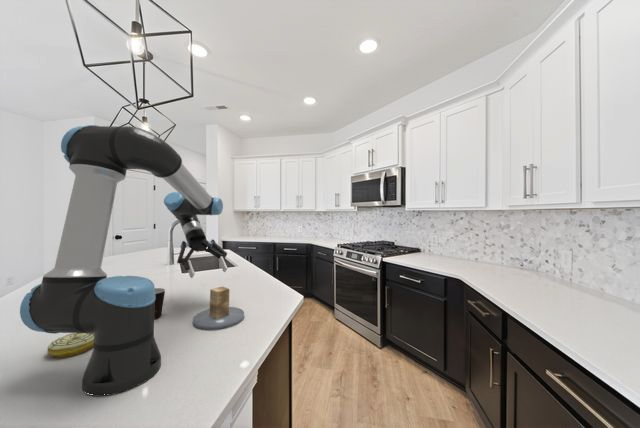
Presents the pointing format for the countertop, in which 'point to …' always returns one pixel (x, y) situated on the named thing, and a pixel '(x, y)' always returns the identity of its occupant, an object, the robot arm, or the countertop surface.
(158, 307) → the coffee mug
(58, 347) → the decorated donut
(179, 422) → the countertop surface
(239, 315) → the dish
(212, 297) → the oak block
